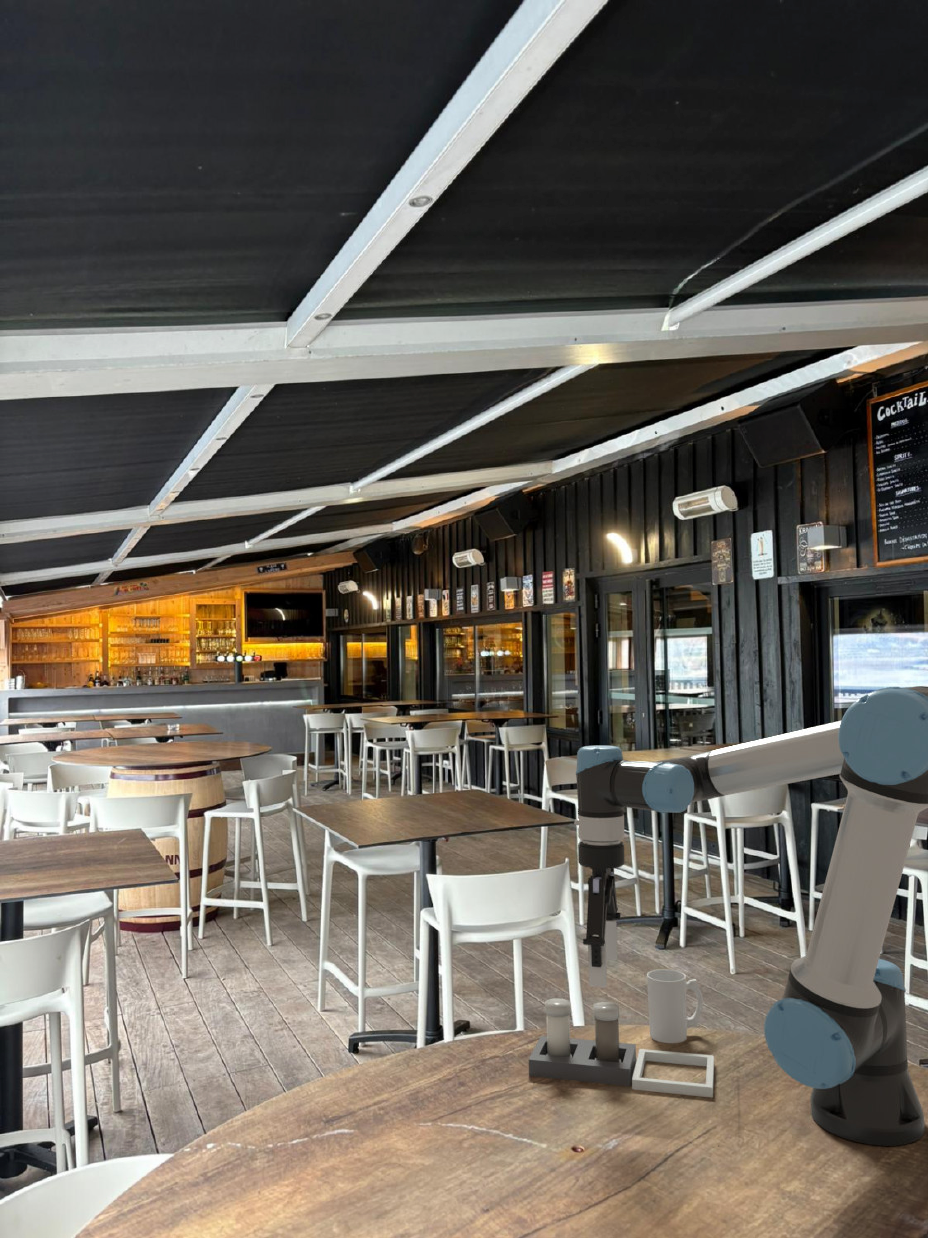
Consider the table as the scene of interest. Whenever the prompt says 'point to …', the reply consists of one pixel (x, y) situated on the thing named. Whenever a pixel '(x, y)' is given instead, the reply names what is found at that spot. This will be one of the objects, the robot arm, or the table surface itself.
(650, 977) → the mug
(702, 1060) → the tray
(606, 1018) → the fuse
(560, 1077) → the block
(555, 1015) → the peg
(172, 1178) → the table surface
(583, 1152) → the table surface
